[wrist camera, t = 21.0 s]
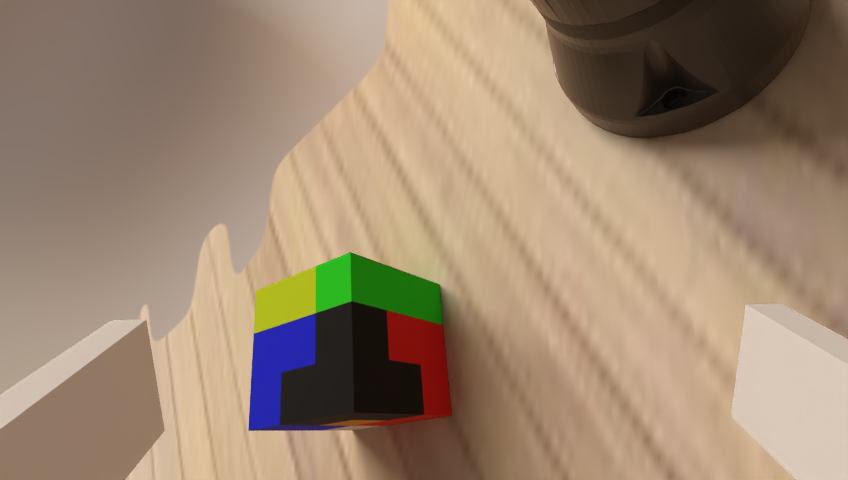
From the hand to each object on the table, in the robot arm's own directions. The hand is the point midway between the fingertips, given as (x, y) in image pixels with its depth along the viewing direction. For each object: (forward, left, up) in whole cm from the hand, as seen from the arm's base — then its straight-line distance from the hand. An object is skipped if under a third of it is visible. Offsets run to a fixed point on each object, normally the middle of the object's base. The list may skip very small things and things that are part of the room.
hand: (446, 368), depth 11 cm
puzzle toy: (-17, -12, -23) cm, 31 cm away
